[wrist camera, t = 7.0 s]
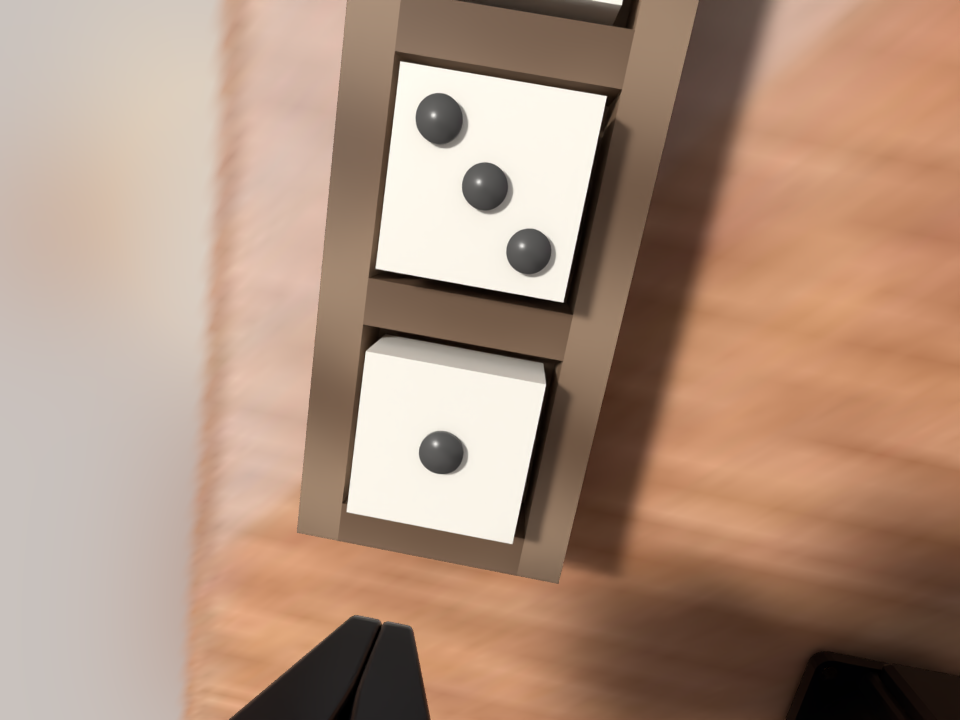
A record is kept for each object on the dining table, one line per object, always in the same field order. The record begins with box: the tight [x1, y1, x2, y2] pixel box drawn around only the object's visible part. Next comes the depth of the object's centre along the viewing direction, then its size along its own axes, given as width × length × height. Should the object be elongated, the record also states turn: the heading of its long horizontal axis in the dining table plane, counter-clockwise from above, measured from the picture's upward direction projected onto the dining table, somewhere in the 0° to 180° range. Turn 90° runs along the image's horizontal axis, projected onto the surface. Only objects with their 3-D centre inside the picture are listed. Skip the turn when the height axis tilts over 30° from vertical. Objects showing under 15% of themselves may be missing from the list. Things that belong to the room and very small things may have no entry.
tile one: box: [347, 334, 546, 544], centre depth 15 cm, size 4×4×2 cm
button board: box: [297, 0, 699, 584], centre depth 15 cm, size 20×8×3 cm, turn 170°
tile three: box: [376, 61, 607, 302], centre depth 13 cm, size 4×4×2 cm
